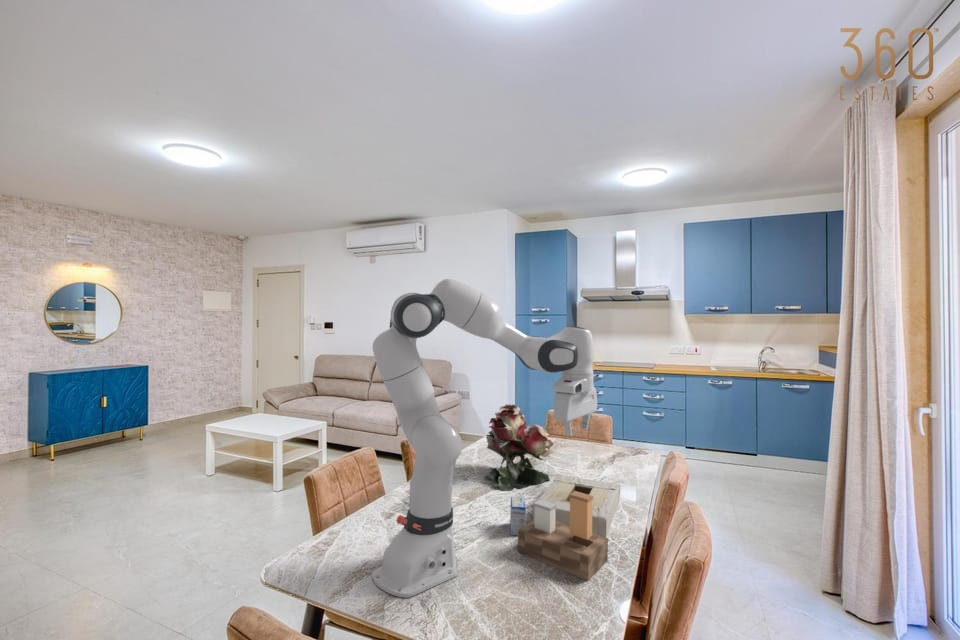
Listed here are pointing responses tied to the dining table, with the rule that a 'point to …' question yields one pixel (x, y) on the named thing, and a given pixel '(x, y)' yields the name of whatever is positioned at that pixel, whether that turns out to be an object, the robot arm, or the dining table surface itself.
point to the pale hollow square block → (601, 491)
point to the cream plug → (545, 516)
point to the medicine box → (517, 514)
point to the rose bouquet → (516, 449)
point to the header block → (564, 549)
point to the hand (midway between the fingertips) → (576, 432)
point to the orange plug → (581, 515)
